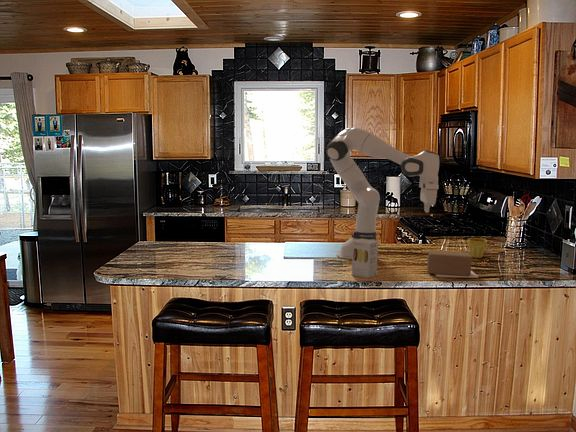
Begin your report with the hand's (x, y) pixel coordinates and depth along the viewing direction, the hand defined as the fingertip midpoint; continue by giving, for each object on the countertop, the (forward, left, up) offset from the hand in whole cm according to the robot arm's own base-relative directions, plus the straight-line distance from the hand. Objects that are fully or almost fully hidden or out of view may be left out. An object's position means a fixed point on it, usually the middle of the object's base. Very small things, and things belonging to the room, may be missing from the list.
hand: (426, 212), depth 281 cm
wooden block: (+1, -3, -24) cm, 24 cm away
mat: (+15, -2, -30) cm, 33 cm away
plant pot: (+38, +39, -30) cm, 62 cm away
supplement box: (-30, -11, -30) cm, 44 cm away
